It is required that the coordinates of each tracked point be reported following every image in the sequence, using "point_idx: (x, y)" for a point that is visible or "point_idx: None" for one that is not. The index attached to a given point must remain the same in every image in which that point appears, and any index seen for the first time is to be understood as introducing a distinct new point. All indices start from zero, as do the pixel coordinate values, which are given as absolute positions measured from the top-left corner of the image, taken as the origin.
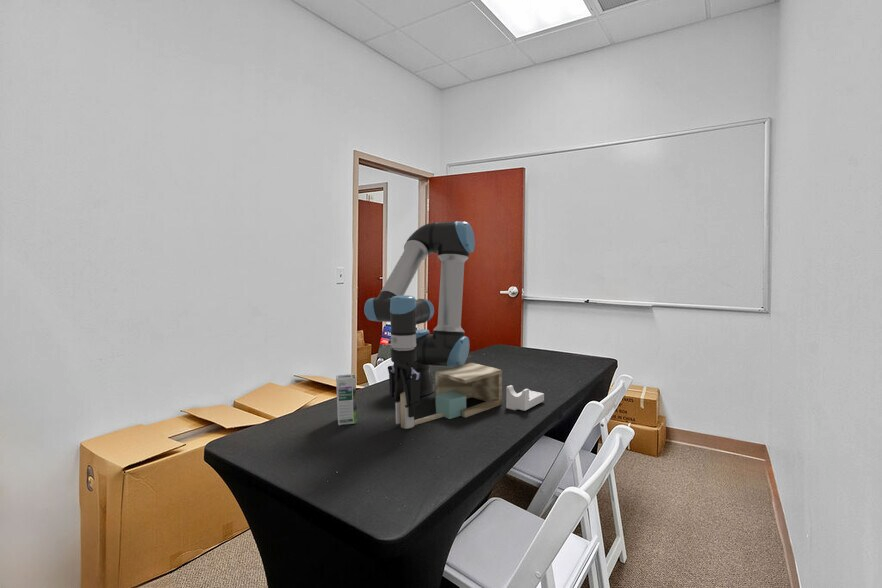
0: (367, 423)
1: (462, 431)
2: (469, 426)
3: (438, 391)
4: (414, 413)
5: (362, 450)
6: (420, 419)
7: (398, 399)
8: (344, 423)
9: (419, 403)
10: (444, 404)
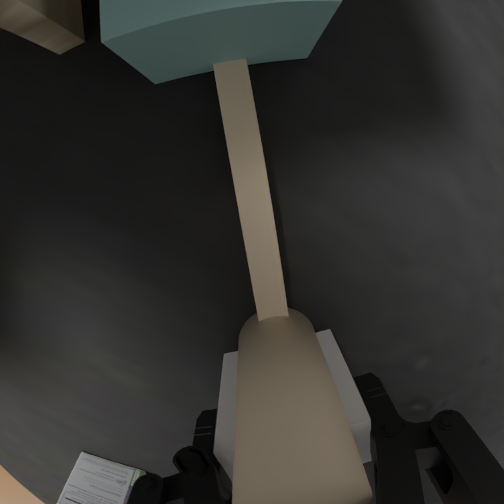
0: (155, 450)
1: (481, 116)
2: (447, 45)
3: (23, 4)
4: (382, 385)
5: (371, 488)
6: (268, 261)
7: (227, 489)
8: None
9: (459, 413)
10: (254, 29)
